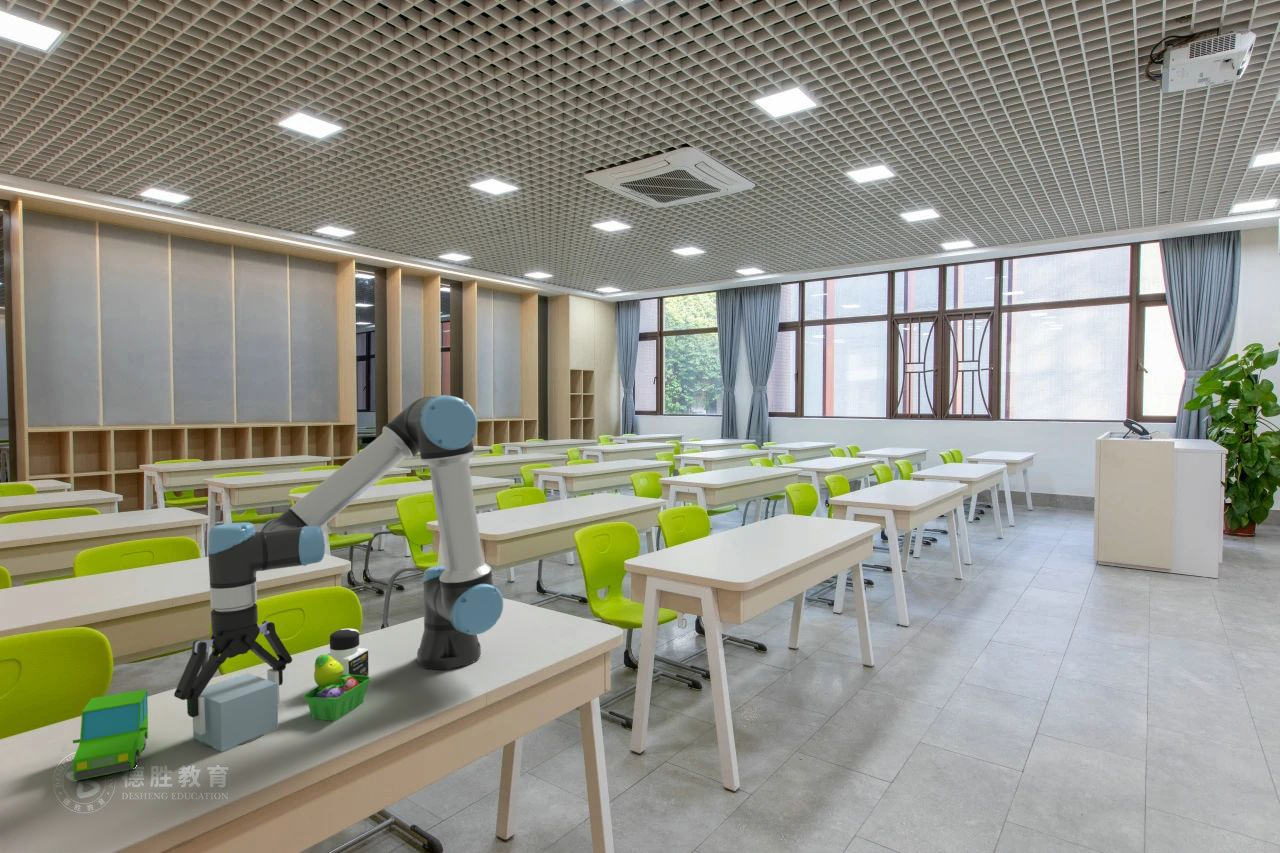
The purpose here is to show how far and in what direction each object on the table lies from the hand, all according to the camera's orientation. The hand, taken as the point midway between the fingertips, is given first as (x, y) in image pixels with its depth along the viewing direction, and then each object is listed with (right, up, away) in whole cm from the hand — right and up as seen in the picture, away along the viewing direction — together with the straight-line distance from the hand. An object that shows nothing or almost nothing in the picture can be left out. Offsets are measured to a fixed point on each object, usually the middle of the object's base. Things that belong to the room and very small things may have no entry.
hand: (238, 717), depth 126 cm
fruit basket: (+14, -3, +10) cm, 17 cm away
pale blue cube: (0, -3, 0) cm, 3 cm away
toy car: (-15, -4, -11) cm, 19 cm away
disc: (0, -3, 0) cm, 3 cm away
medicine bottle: (+10, -3, +23) cm, 25 cm away
